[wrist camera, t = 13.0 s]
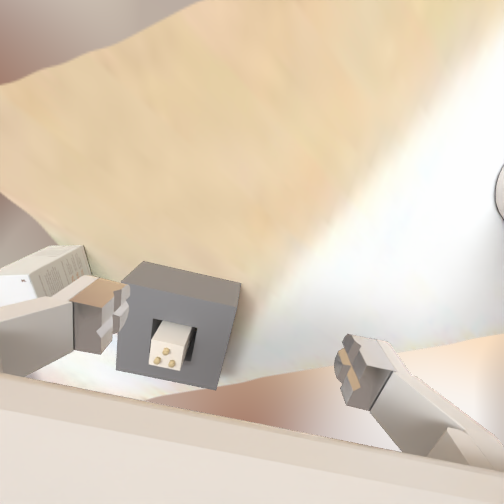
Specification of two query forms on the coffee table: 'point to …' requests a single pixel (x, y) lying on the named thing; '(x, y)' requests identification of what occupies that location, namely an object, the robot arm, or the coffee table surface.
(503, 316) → the coffee table surface
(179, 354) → the plug peg
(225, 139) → the coffee table surface
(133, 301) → the socket block
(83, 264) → the small box
